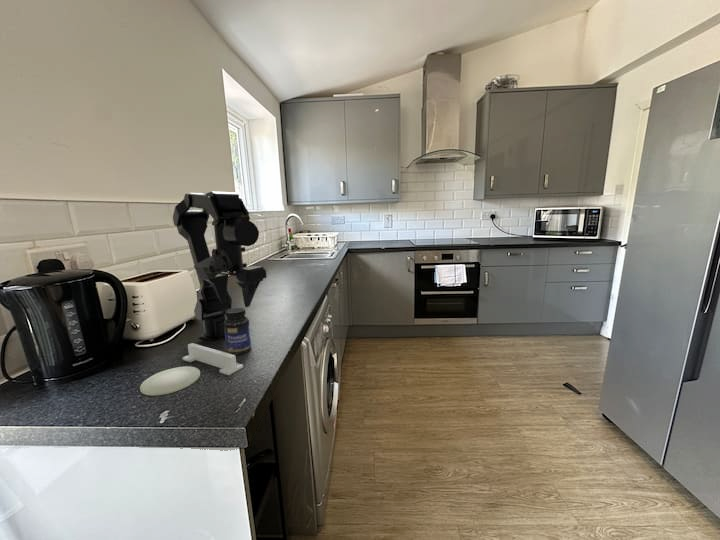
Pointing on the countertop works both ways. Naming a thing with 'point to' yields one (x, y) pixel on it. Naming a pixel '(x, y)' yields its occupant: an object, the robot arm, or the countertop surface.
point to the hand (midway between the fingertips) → (234, 304)
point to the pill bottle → (237, 331)
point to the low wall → (213, 358)
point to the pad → (170, 381)
